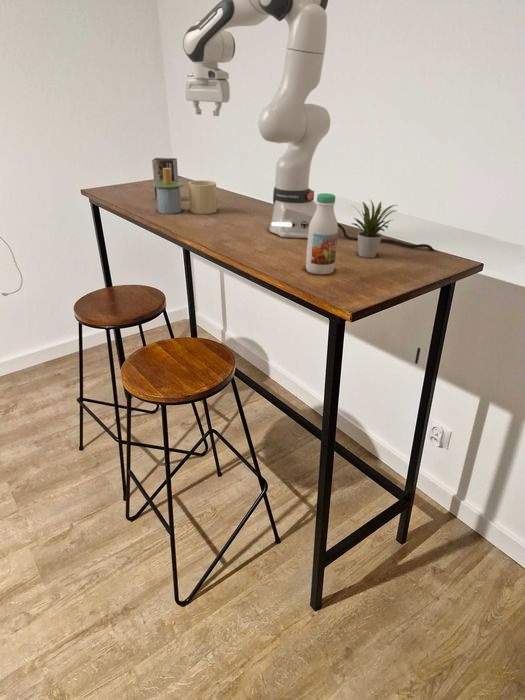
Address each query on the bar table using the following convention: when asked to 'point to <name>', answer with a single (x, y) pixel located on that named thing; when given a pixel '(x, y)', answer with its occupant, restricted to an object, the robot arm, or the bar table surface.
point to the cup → (169, 200)
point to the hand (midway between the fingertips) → (207, 115)
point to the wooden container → (202, 197)
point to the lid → (167, 181)
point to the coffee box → (158, 169)
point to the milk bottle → (322, 237)
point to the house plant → (371, 230)
